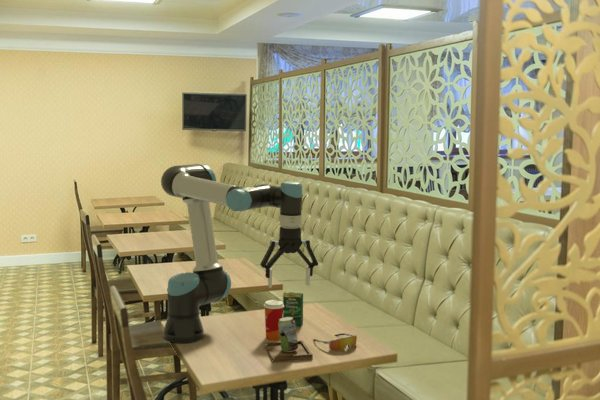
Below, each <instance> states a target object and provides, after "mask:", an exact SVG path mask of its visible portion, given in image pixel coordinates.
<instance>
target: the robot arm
mask: <svg viewBox="0 0 600 400" xmlns="http://www.w3.org/2000/svg"><path fill="white" fill-rule="evenodd" d="M162 173H163V174H162V176H161V179H160V183H161V188H162V190H163V191H164V192H165V193H166V194H167V195H169V196H171V197H175V198H180V199H182V202H183V203H185V204H186V206H187V212H188V220H189V227H190V232H191V233H190V235H191V240H192V246H193V247H192V248H193V253H194V260H195V261H194V262H195V266H194V268H193V269H192V272H181V273H177V274H175V275H173V276H171V277H170V278H169V279H168V282H167V288H166V290H167V291H166V292H167V318H166V322H165V325H164V327H163V331H162V338H163V339H164V340H165V341H167V342H169V343H174V344H188V343H194V342H197V341H200V340H202V339H203V338H204V336H205V334H204V333H205V332H204V327H203V324H202V320H201V318H200V307H202V306H205V305H207V304H210V303H213V302H218V301H220V300H223V299H224V298H226V297H227V296H228V294H229V293H230V292H231V288H232V280H231V277H230V275H229V273H228V271H226V270H224V269H223V265H222V263H220V262H219V260H218V254H217V253H218V252H217V246H216V240H215V234H214V226H213V220H212V218H213V217H212V212H211V205H210V203H213V204H217V205H221V206H225V207H228V208H229V209H230V210H231V211H233V212H246V211H248V210H255V209H262V208H268V207H269V208H277V209H279V226H280V227H279V234H278V235H279V239H278V240H273V239H271V240H270V242H269V246H268V249H267V251H266V253H264V256H263V258H262V260H261V262H260V267H262V268H264V269H265V278H266V279H267V285H268V288H269V289H271V288H273V268H272V267H273V265H274V264H275V263H276V262H277V261H278V259H279V258H281V256H282V255H284V253H285V254H296V253H297V254H298V255H299V256H300V257H301V258H302V260H303V261H304V262H305V263H306V264H307V265H308V266H307V265H306V266H305V285H306V287H310V286H311V284H310V283H311V281H310V279H311V277H313V271H314V267H317V266H319V262H318V260H317V257H316V256H315V253H314V251H313V249H312V247H311V241H310V240H309V239H308V238H305V239H304V240H303V239H302V228H301V226H302V214H303V212H302V207H303V206H302V205H303V196H304V195H303V184H302V183H301V182H298V181H282V182H281V183H280V185H279V186H278V185H272V184H268V183H267V184H266V183H265V184H262V183H260V184H259V183H258V184H256V185H255V186H250V187H249V186H248V187H243V186H237V185H233V184H228V183H224V182H220V181H217V176H216V174H215V172H214V171H213V169H212V168H210V167H209V165H207V164H203V163H194V164H183V165H174V166H173V165H172V166H171V167H168V168H167V169H166V170H165V171H164V172H162ZM302 245H303V246H304V247H305V249H306V251H307V253H308V255H309V257H310V260H311V261H312V262H311V261H310V260H309V258H308V257H307V256H306V255H305V254H304V252H303V251H302V250H301V246H302ZM277 246H278V247H279V248H278V249H277V251H276V252H275V253H274V255H273V252H274V250H275V248H276V247H277ZM272 255H273V256H272ZM271 256H272V257H271Z"/></svg>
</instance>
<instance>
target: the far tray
mask: <svg viewBox="0 0 600 400" xmlns="http://www.w3.org/2000/svg"><path fill="white" fill-rule="evenodd" d="M297 342H298V348H297V349H296V350H295V351H293V352H284V351H282V350H281V343H280V341H276V342H275V341H272V342H267V343H266V344H265V345H264V347H265V350H266V352H267V353H268V355H269V357H270V359H271V360H272V363H280V362H281V363H283V362H295V361H305V360H306V361H311V360H313V353H312V352H311V350H310V349H309V347H308V346H307V345H306V343H305V342H304V341H303V339H302V340H301V339H300V340H297Z"/></svg>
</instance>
